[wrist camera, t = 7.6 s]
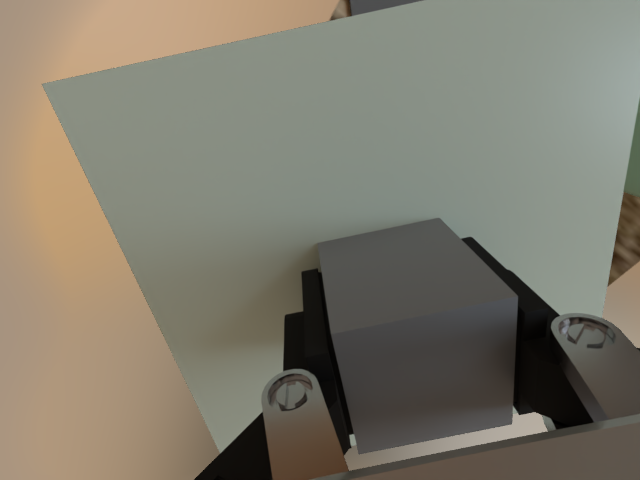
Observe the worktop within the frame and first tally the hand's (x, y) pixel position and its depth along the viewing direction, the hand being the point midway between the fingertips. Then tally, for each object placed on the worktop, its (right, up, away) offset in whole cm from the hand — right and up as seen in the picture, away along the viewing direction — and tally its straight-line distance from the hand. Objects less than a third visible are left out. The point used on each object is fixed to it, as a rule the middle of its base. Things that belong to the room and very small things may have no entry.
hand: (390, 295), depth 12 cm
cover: (-1, +8, +17) cm, 19 cm away
